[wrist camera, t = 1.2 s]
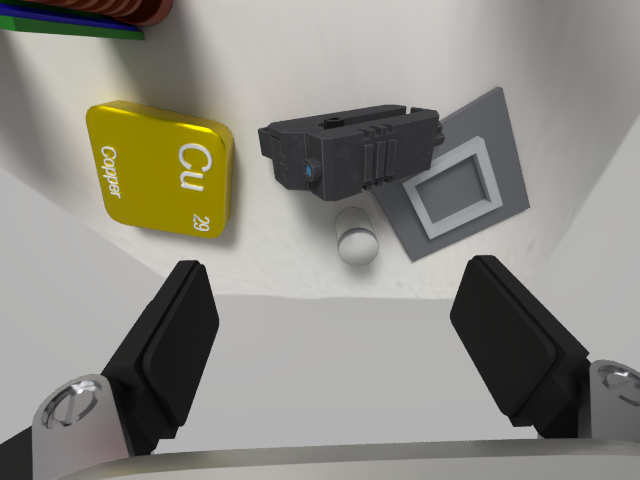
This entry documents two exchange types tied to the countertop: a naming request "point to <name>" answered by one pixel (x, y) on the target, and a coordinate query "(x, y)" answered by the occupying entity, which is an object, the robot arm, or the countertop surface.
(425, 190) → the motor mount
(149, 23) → the motor
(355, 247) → the white domed cylinder
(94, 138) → the element tile
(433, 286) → the countertop surface
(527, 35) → the countertop surface
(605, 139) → the countertop surface
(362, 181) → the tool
